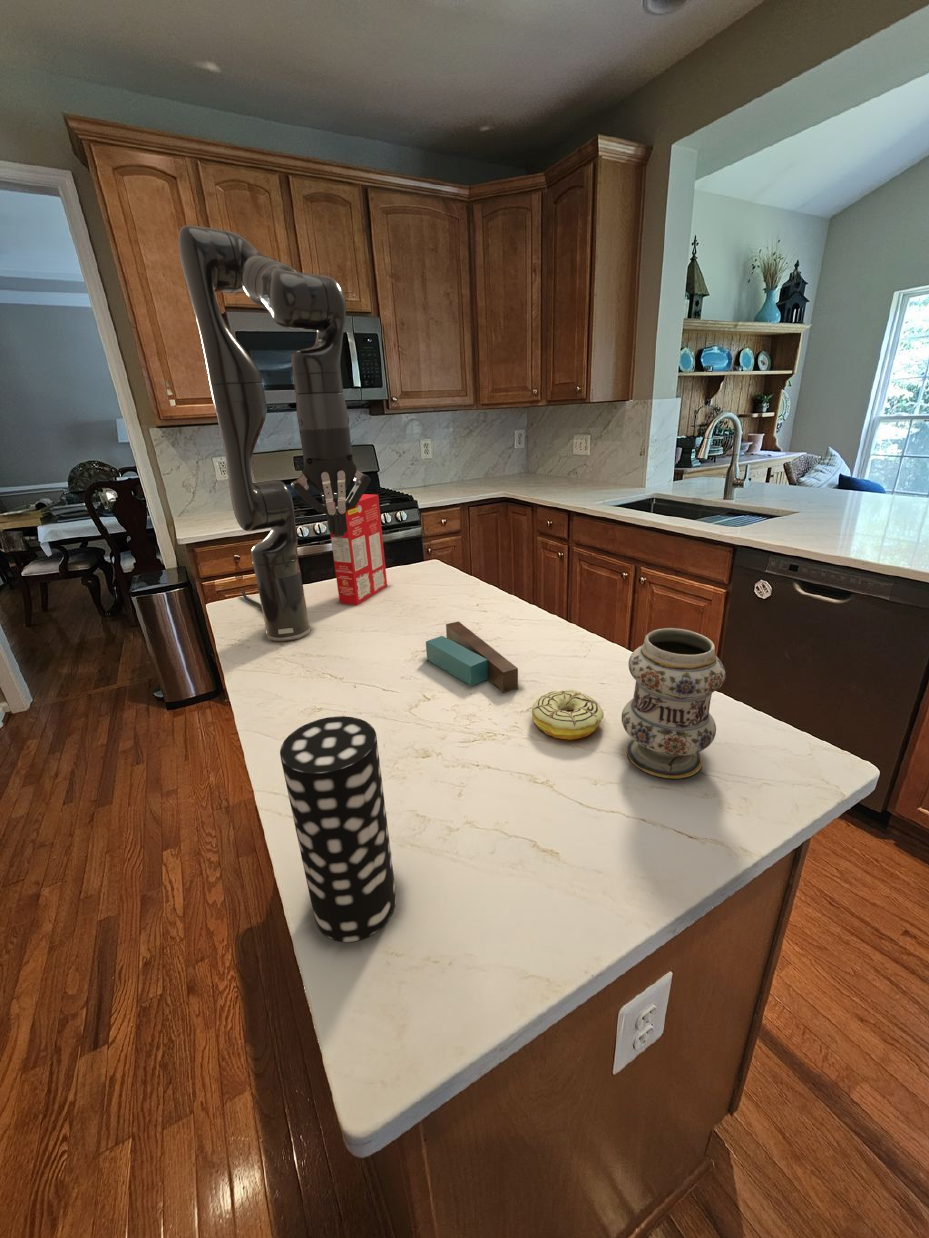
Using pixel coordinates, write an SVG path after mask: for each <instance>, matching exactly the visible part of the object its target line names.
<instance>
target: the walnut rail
mask: <svg viewBox="0 0 929 1238" xmlns="http://www.w3.org/2000/svg"><path fill="white" fill-rule="evenodd" d="M445 632H446V638H447V639H449V640H451V641H453V642H455V643H457V644H459V645H461V646H463V647H464V648H466V649H468V650H470V651H472V652H474V653H476V654H478V655H480V656H482V657H483V658H485V659H487V660H488V679H487V680H489V681H490V682H491V683H492V684H493V685H494V686H495V687H496V688H498V690H500V691H501V692H502V693H507V692H511V691H513V690H517V689H518V688H519V668H518V667H517V666H516V665H515V664H513V663H512V662H510V660H508V659H507V658H506V657H504V656H503V655H502V654H500V652H498V651H497V650H495V649H494V648H493V647H492V646H490V645H489V644H488V643H487V642H485V641H484V639H482V638H481V637H479V636H478V635H477V634H476V633H474V632H473V631H472V630H471V629H469V628H468V627H466V626H465V625H464V624H462V623H461V621H455V622H449V623H446V624H445Z"/></svg>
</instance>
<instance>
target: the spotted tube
mask: <svg viewBox="0 0 929 1238" xmlns="http://www.w3.org/2000/svg"><path fill="white" fill-rule="evenodd" d="M379 753H380V752H379V745H378V737H377V732H376V730H375V728H374V727H373V725H372V724H371V723H369V722H368V721H366V720H364V719H362V718H358V717H353V716H347V715H341V716H339V715H337V716H329V717H324V718H319V719H315V720H313V721H310V722H308V723H305V724H303V725H301V726H300V727H298V728H296V729H295V730H294V731H292V732H291V733H290V734H288V736H287V737H285V739H284V741H282V744H281V746H280V749H279V756H280V762H281V766H282V771H283V776H284V780H285V781H284V782H285V785H286V790H287V795H288V799H289V805H290V809H291V814H292V818H293V819H292V820H293V822H294V829H295V834H296V837H297V842H298V847H299V852H300V858H301V860H302V861H301V862H302V866H303V870H304V875H305V881H306V885H307V890H308V895H309V899H310V903H311V909H312V914H313V917H314V922H315V925H316V927H317V929H318V931H320V932H321V934H323V936H325V937H327V938H329V939H331V940H333V941H335V942H340V943H352V942H356V941H362V940H364V939H366V938H369V937H371V936H372V935H374V934H376V933H377V932H379V931H380V930H381V929H382V928H384V926H385V925H386V924H387V923H388V921H389V920H390V919H391V917H392V916H393V914H394V911H395V908H396V906H397V905H396V904H397V892H396V884H395V883H396V882H395V874H394V868H393V859H392V851H391V843H390V834H389V826H388V819H387V818H388V817H387V809H386V802H385V794H384V785H383V778H382V771H381V761H380V755H379Z"/></svg>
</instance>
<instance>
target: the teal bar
mask: <svg viewBox="0 0 929 1238" xmlns="http://www.w3.org/2000/svg"><path fill="white" fill-rule="evenodd" d="M425 649H426V660H427V661H429V662H430V663H432V664H433V665H435V666H437V667H439V668H440V669H442V670H443V671H445V672H446V673H448V674H450V675H451V676H453V677H455V678H457V679H458V680H460V681H462V682H463V683H465V684H467V685H468V686H470V687H473V686H475V685H477V684H480V683H482V682H484V681H486V680H489V679H488V660H487V659H485V658H483V657H482V656H480V655H478V654H476V653H474V652H472V651H470V650H468V649H466V648H464V647H463V646H461V645H459V644H457V643H455V642H453V641H451V640H449V639H447V636H444V635H440V636H437V637H434V638H431V639H428V640H426V641H425Z"/></svg>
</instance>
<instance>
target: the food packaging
mask: <svg viewBox="0 0 929 1238" xmlns="http://www.w3.org/2000/svg"><path fill="white" fill-rule="evenodd" d="M346 499H347V498H346ZM346 499H345V501H346ZM333 502H334V501H333ZM334 507H335V502H334ZM335 513H336V510H335ZM346 522H347V532H345V533H344V536H342V537H334V536H333V534H331V533H330V532H329V535H330V542H331V549H332V556H333V564H334V572H335V578H336V585H337V592H338V593H337V594H338V601H339V603H340V604H346V605H352V606H353V605H354V606H358V605H360V604H361V603H363V602H365V601H366V600H368V599H370V598H372V597H373V596H374V595H377V594H378V593H379V592H381V591H382V590H384V589H386V588H387V587H388V579H387V578H388V577H387V569H386V568H387V567H386V560H385V549H384V539H383V538H384V537H383V529H382V519H381V509H380V499H379V494H371V493H370V494H368V493H367V494H366V493H363V495H362V497H361V498H360V500H359V502H358V503H357V505H356V507H355V508H353V509H350V510H348V511H347V512H346Z"/></svg>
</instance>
